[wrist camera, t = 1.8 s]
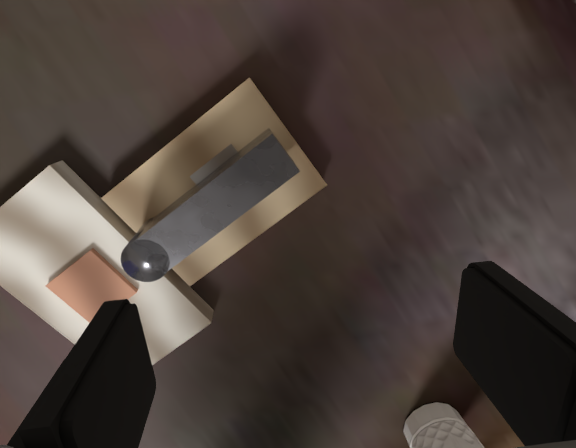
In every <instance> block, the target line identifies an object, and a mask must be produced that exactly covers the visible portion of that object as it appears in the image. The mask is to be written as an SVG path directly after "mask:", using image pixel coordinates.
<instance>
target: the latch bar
mask: <svg viewBox="0 0 576 448" xmlns="http://www.w3.org/2000/svg"><path fill="white" fill-rule="evenodd" d="M299 172H300V171H299V169H298V167H297V166H296V164H295V162H294V161H293V159H292V158H291V157H290V155H289V154H288V153H287V151H286V150H285V149H284V147H283V146H282V145H281V143H280V142H279V141H278V139H277V138H276V137H275V135H274V134H273V133H272V131H271V130H270V128H268V129H267V130H265V131H264V132H263V133H261V134H260V135H259V136H258V137H256V138H255V139H254V140H253V141H251V142H250V143H249V144H247V145H246V146H245V147H244V148H242V149H241V150H240V151H239V152H237V153H236V154H235V155H233V156H232V157H231V158H230V159H228V160H227V161H226V162H224V163H223V164H222V165H221V166H219V167H218V168H217V169H216V170H214V171H213V172H212V173H210V174H209V175H208V176H207V177H205V178H204V179H203V180H202V181H200V182H199V183H198V184H196V185H195V186H194V187H193V188H191V189H190V190H189V191H187V192H186V193H185V194H184V195H182V196H181V197H180V198H179V199H177V200H176V201H175V202H173V203H172V204H171V205H170V206H168V207H167V208H166V209H165V210H163V211H162V212H161V213H159V214H158V215H157V216H156V217H153V218H150V219H148V220H147V221H146V222H145V223H144V224H143V225H142V226H141V228H140V229H139V230H138V231H137V233H136V234H135V235H134V236H133V238H132V239H131V240H130V242H129V243H128V244H127V245H126V247H125V248H124V249H123V251H122V253H121V265H122V267H123V269H124V271H125V272H126V273H127V274H128V275H129V276H130V277H132V278H133V279H135V280H138V281H141V282H153V281H156V280H158V279H160V278H162V277H163V276H164V275H165V274H166V273H167V271H169V270H170V269H171V268H173V267H174V266H175V265H177V264H178V263H179V262H181V261H182V260H183V259H185V258H186V257H187V256H189V255H190V254H191V253H193V252H194V251H195V250H197V249H198V248H199V247H201V246H202V245H203V244H205V243H206V242H207V241H209V240H210V239H211V238H213V237H214V236H215V235H217V234H218V233H219V232H221V231H222V230H223V229H225V228H226V227H227V226H229V225H230V224H231V223H232V222H234V221H235V220H236V219H238V218H239V217H240V216H242V215H243V214H244V213H246V212H247V211H248V210H250V209H251V208H252V207H254V206H255V205H256V204H258V203H259V202H260V201H262V200H263V199H264V198H266V197H267V196H268V195H270V194H271V193H272V192H274V191H275V190H276V189H278V188H279V187H280V186H282V185H283V184H284V183H286V182H287V181H288V180H290V179H291V178H292V177H294V176H295V175H296V174H298V173H299Z"/></svg>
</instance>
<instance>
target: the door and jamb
mask: <svg viewBox="0 0 576 448" xmlns="http://www.w3.org/2000/svg"><path fill="white" fill-rule="evenodd" d="M268 128H270V130H271V131H272V133H273V134H274V135H275V137H276V138H277V139H278V141H279V142H280V143H281V145H282V146H283V147H284V149H285V150H286V151H287V153H288V154H289V155H290V157H291V158H292V159H293V161H294V162H295V164H296V166H297V167H298V169H299V171H300V172H299V173H298V174H296V175H295V176H294V177H292V178H291V179H290V180H288V181H287V182H286V183H284V184H283V185H282V186H280V187H279V188H278V189H276V190H275V191H274V192H272V193H271V194H270V195H268V196H267V197H266V198H264V199H263V200H262V201H260V202H259V203H258V204H256V205H255V206H254V207H252V208H251V209H250V210H248V211H247V212H246V213H244V214H243V215H242V216H240V217H239V218H238V219H236V220H235V221H234V222H232V223H231V224H230V225H229V226H227V227H226V228H225V229H223V230H222V231H221V232H219V233H218V234H217V235H215V236H214V237H213V238H211V239H210V240H209V241H207V242H206V243H205V244H203V245H202V246H201V247H199V248H198V249H197V250H195V251H194V252H193V253H191V254H190V255H189V256H187V257H186V258H185V259H183V260H182V261H181V262H179V263H178V264H177V265H175V266H174V267H173V268H171V269H170V270H169V271H167V273H166V274H165V275H164V276H163V277H162V278H160V279H158V280H156V281H153V282H141V281H138V280H135V279H133V278H132V277H130V276H129V275H128V274H127V273H126V272H125V271H124V269H123V267H122V265H121V253H122V251H123V249H124V248H125V247H126V245H127V244H128V243H129V242H130V240H131V239H132V238H133V236H134V235H135V234H136V233H137V231H138V230H139V229H140V228H141V226H142V225H143V224H144V223H145V222H146V221H147V220H148V219H150V218H153V217H156V216H157V215H158V214H159V213H161V212H162V211H163V210H165V209H166V208H167V207H168V206H170V205H171V204H172V203H173V202H175V201H176V200H177V199H179V198H180V197H181V196H182V195H184V194H185V193H186V192H187V191H189V190H190V189H191V188H193V187H194V186H195V185H196V184H198V183H199V182H200V181H202V180H203V179H204V178H205V177H207V176H208V175H209V174H210V173H212V172H213V171H214V170H216V169H217V168H218V167H219V166H221V165H222V164H223V163H224V162H226V161H227V160H228V159H230V158H231V157H232V156H233V155H235V154H236V153H237V152H239V151H240V150H241V149H242V148H244V147H245V146H246V145H247V144H249V143H250V142H251V141H253V140H254V139H255V138H256V137H258V136H259V135H260V134H261V133H263V132H264V131H265V130H267V129H268ZM325 186H327V184H326V182H325V181H324V180H323V178H322V177H321V176H320V174H319V173H318V171H317V170H316V169H315V167H314V166H313V165H312V163H311V162H310V160H309V159H308V158H307V156H306V155H305V153H304V152H303V151H302V149H301V148H300V147H299V145H298V144H297V142H296V141H295V140H294V138H293V137H292V136H291V134H290V133H289V131H288V130H287V129H286V127H285V126H284V124H283V123H282V122H281V120H280V119H279V118H278V116H277V115H276V113H275V112H274V111H273V109H272V108H271V107H270V105H269V104H268V102H267V101H266V100H265V98H264V97H263V95H262V94H261V93H260V91H259V90H258V89H257V87H256V86H255V84H254V83H253V82H252V80H251V79H250V78H248V79H247V80H246V81H244V82H243V83H242V84H241V85H239V86H238V87H237V88H236V89H235V90H233V91H232V92H231V93H230V94H228V95H227V96H226V97H225V98H224V99H222V100H221V101H220V102H219V103H217V104H216V105H215V106H214V107H212V108H211V109H210V110H209V111H208V112H206V113H205V114H204V115H203V116H201V117H200V118H199V119H198V120H196V121H195V122H194V123H193V124H192V125H190V126H189V127H188V128H187V129H185V130H184V131H183V132H182V133H181V134H179V135H178V136H177V137H176V138H174V139H173V140H172V141H171V142H169V143H168V144H167V145H166V146H165V147H163V148H162V149H161V150H160V151H158V152H157V153H156V154H155V155H154V156H152V157H151V158H150V159H149V160H147V161H146V162H145V163H144V164H142V165H141V166H140V167H139V168H138V169H136V170H135V171H134V172H133V173H131V174H130V175H129V176H128V177H126V178H125V179H124V180H123V181H122V182H120V183H119V184H118V185H117V186H115V187H114V188H113V189H112V190H111V191H109V192H108V193H107V194H106V195H104V196H103V197H102V198H100V197H99V196H98V195H97V194H96V193H95V192H94V191H93V190H92V189H91V188H90V187H89V186H88V185H87V184H86V183H85V182H84V181H83V180H82V179H81V178H80V177H79V176H78V175H77V174H76V173H75V172H74V171H73V170H72V169H71V168H70V167H69V166H68V165H67V164H66V163H65V162H64V161H63V160H62V161H59V162H56V163H54V164H51V165H49V166H48V167H47V168H45V169H44V170H43V171H42V172H41V173H40V174H38V175H37V176H36V177H35V178H34V179H33V180H31V181H30V182H29V183H28V184H27V185H26V186H24V187H23V188H22V189H21V190H20V191H19V192H17V193H16V194H15V195H14V196H13V197H11V198H10V199H9V200H8V201H7V202H6V203H4V204H3V205H2V206H1V207H0V286H1V287H3V288H4V289H5V290H7V291H8V292H9V293H10V294H12V295H13V296H14V297H15V298H17V299H18V300H19V301H20V302H22V303H23V304H24V305H25V306H27V307H28V308H29V309H31V310H32V311H33V312H34V313H36V314H37V315H38V316H39V317H41V318H42V319H43V320H44V321H46V322H47V323H48V324H49V325H51V326H52V327H53V328H55V329H56V330H57V331H58V332H60V333H61V334H62V335H63V336H65V337H66V338H67V339H68V340H70V341H71V342H72V343H73V344H76V342H77V341H78V339H79V338H80V337H81V335H82V334H83V332H84V331H85V329H86V328H87V326H88V325H89V323H90V322H91V320H92V319H93V317H94V316H95V314H96V313H97V311H98V310H99V308H100V307H101V305H102V304H103V303H104V302H105V301H112V300H121V299H128V300H129V302H130V304H134V303H135V304H136V305H137V308H138V311H139V315H140V319H141V323H142V327H143V331H144V335H145V339H146V343H147V347H148V351H149V355H150V359H151V363H152V365H153V364H155V363H156V362H158V361H159V360H160V359H162V358H163V357H165V356H166V355H167V354H169V353H170V352H172V351H173V350H174V349H176V348H177V347H179V346H180V345H181V344H183V343H184V342H186V341H187V340H188V339H190V338H191V337H193V336H194V335H195V334H197V333H198V332H200V331H201V330H202V329H204V328H205V327H207V326H208V325H209V324H211V323H212V319H213V312H214V310H213V309H212V308H211V307H210V306H209V305H208V304H207V303H206V302H205V301H204V300H203V299H202V298H201V297H200V296H199V295H198V294H197V293H196V292H195V291H194V290H193V289H192V288H191V287H190V286H191V285H193V284H194V283H195V282H197V281H198V280H199V279H201V278H202V277H203V276H205V275H206V274H207V273H209V272H210V271H211V270H213V269H214V268H216V267H217V266H218V265H220V264H221V263H222V262H224V261H225V260H226V259H228V258H229V257H230V256H232V255H233V254H235V253H236V252H237V251H239V250H240V249H241V248H243V247H244V246H245V245H247V244H248V243H249V242H251V241H252V240H253V239H255V238H256V237H258V236H259V235H260V234H262V233H263V232H264V231H266V230H267V229H268V228H270V227H271V226H272V225H274V224H275V223H277V222H278V221H279V220H281V219H282V218H283V217H285V216H286V215H287V214H289V213H290V212H291V211H293V210H294V209H295V208H297V207H298V206H300V205H301V204H302V203H304V202H305V201H306V200H308V199H309V198H310V197H312V196H313V195H314V194H316V193H317V192H318V191H320V190H321V189H323V188H324V187H325ZM129 226H130V227H131V228H132V229H133V230H134V231H135V232H136V233H135V232H134V231H133V230H132V229H131V228H130V227H129Z"/></svg>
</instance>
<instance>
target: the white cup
mask: <svg viewBox="0 0 576 448" xmlns="http://www.w3.org/2000/svg"><path fill="white" fill-rule="evenodd" d="M403 431H404V434H405V437H406V439H407V442H408V444H409V447H410V448H485V447H484V446H483V445H482V444H481V442H480V441H479V440H478V438H477V437H476V435H475V434H474V433H473V431H472V430H471V429H470V428H469V427H468V426H467V424H466V423H465V421H464V420H463V419H462V417H461V416H460V414H459V413H458V411H457V410H455V409H454V408H453V407H452V406H450V405H449V404H445V403H439V402H435V403H430V404H426V405H423V406H421V407H420V408H418V409H416V410H414V411H413V412H412V413H411V414H410V416H409V417H408V418H407V419H406V421H405V425H404V429H403Z"/></svg>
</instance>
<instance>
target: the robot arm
mask: <svg viewBox="0 0 576 448" xmlns="http://www.w3.org/2000/svg"><path fill="white" fill-rule="evenodd" d="M453 347H454V351H455V353H456V355H457V357H458V358H459V360H460V361H461V362H462V363H463V365H464V366H465V367H466V369H467V370H468V371H469V373H470V374H471V375H472V377H473V378H474V379H475V381H476V382H477V383H478V385H479V386H480V387H481V389H482V390H483V391H484V392H485V394H486V395H487V396H488V398H489V399H490V400H491V402H492V403H493V404H494V406H495V407H496V408H497V410H498V411H499V412H500V414H501V415H502V416H503V418H504V419H505V420H506V421H507V423H508V424H509V425H510V427H511V428H512V429H513V431H514V432H515V433H516V435H517V436H518V437H519V439H520V440H521V441H522V443H523V444H524V445H525V446H524V447H517V448H576V322H575V321H573V320H572V319H570V318H569V317H568V316H566V315H565V314H564V313H562V312H561V311H560V310H558V309H557V308H555V307H554V306H553V305H551V304H550V303H549V302H547V301H546V300H545V299H543V298H542V297H540V296H539V295H538V294H536V293H535V292H534V291H532V290H531V289H530V288H528V287H527V286H525V285H524V284H523V283H521V282H520V281H519V280H517V279H516V278H515V277H513V276H512V275H510V274H509V273H508V272H506V271H505V270H504V269H502V268H501V267H500V266H498V265H497V264H495V263H494V262H492V261H485V262H475V263H470V264H469V265H468V267H467V268H465V269H464V270H463V272H462V278H461V286H460V293H459V301H458V309H457V317H456V325H455V333H454V341H453ZM155 390H156V379H155V375H154V371H153V367H152V363H151V359H150V355H149V351H148V347H147V343H146V339H145V335H144V331H143V327H142V323H141V319H140V315H139V311H138V308H137V305H136V304H135V303H134V304H130V302H129V300H128V299H121V300H112V301H105V302H104V303H103V304H102V305H101V307H100V308H99V310H98V311H97V313H96V314H95V316H94V317H93V319H92V320H91V322H90V323H89V325H88V326H87V328H86V329H85V331H84V332H83V334H82V335H81V337H80V338H79V339H78V341H77V342H76V344H75V345H74V347H73V348H72V350H71V351H70V353H69V354H68V356H67V357H66V359H65V360H64V361H63V362H62V364H61V365H60V367H59V368H58V370H57V371H56V373H55V374H54V376H53V377H52V379H51V380H50V382H49V383H48V385H47V386H46V388H45V389H44V391H43V392H42V394H41V395H40V397H39V398H38V400H37V401H36V403H35V404H34V405H33V407H32V408H31V410H30V411H29V413H28V414H27V416H26V417H25V419H24V420H23V422H22V423H21V425H20V426H19V428H18V429H17V431H16V432H15V434H14V435H13V437H12V438H11V440H10V441H9V443H8V444H7V445H0V448H138V446H139V443H140V440H141V437H142V433H143V430H144V427H145V424H146V420H147V417H148V414H149V411H150V407H151V404H152V401H153V398H154V395H155Z"/></svg>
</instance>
